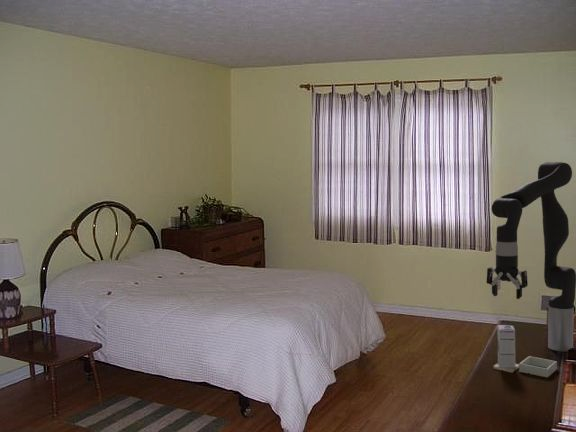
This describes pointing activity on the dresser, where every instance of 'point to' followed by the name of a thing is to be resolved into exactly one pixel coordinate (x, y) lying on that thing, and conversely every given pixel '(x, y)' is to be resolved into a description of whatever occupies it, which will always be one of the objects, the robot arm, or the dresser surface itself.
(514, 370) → the pad
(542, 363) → the bin
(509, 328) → the syrup box
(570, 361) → the dresser surface
